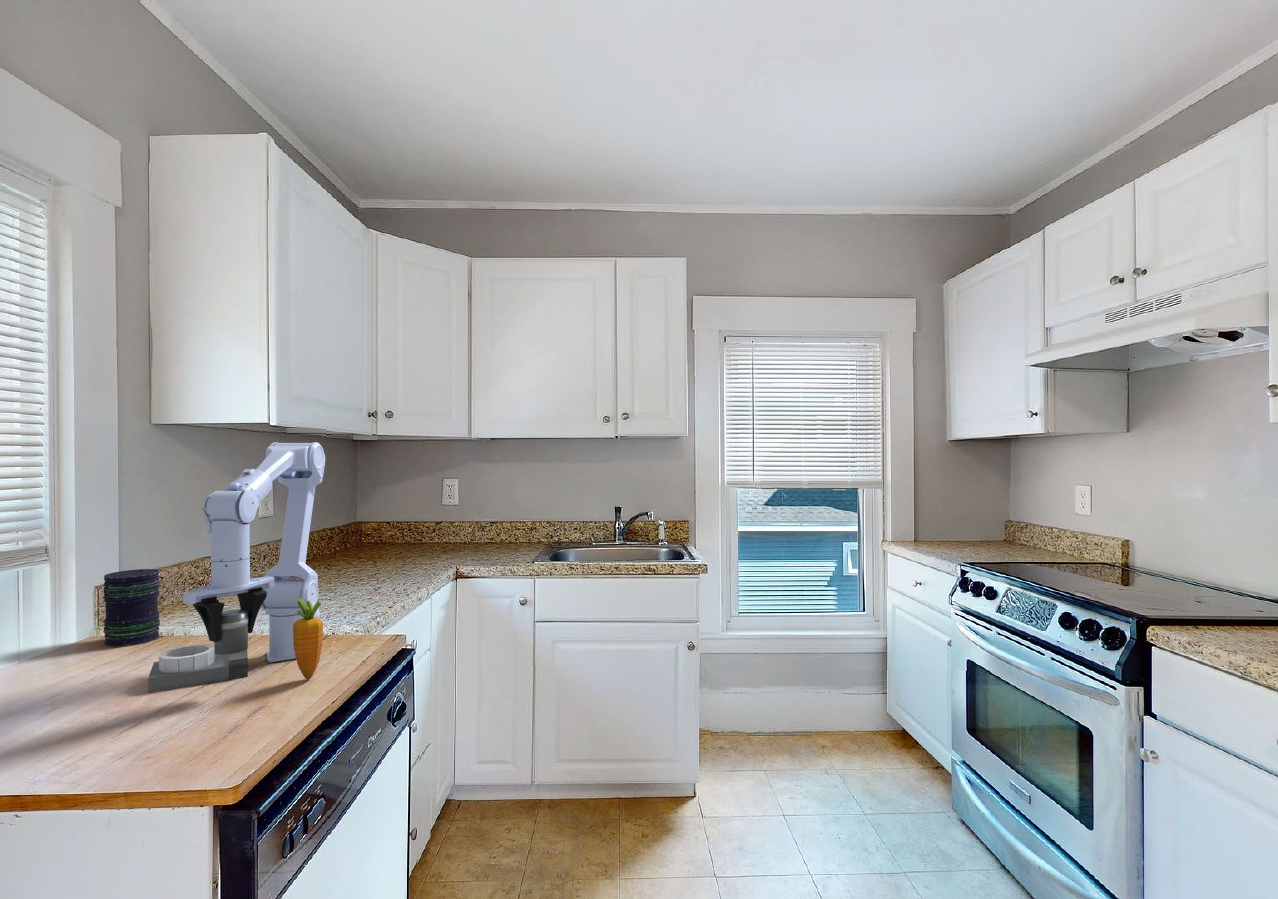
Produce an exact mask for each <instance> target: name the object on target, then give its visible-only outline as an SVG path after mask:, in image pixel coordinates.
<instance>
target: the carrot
mask: <svg viewBox="0 0 1278 899" xmlns="http://www.w3.org/2000/svg"><path fill="white" fill-rule="evenodd" d="M297 603H298V605H299V606H300V608H301V609H302V611H303V612H302V611H297V613H298V614H300V615H301V616H302V617H304V618H301V619H299V620H298V621H296V622H295V623H294V625H293V642H294V651H295V656H296V658H295V659H296V663H297V666H298V669H299V671H300V672H301V674H302V675H303V677H304V679H306V680H307V681H309V680H311V679H312V677H313V676H314V674H315V672H316V670H317V667H318V665H319V662H320V659H321V653H322V648H323V637H324V634H323V633H324V622H323V620H322V619H321V618H320V619H319V618H317V617H313V616H314V615H315V613H316V611H317V609H319V607H320V606H321V604H322V602H321V601H319V600H317V602H316V604H315V605H314V606H312V603H311V601H307V602H306V603H307V605H308V607H306V605H305V603H304V601H303V600H302V599H299V600H298V601H297Z"/></svg>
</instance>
